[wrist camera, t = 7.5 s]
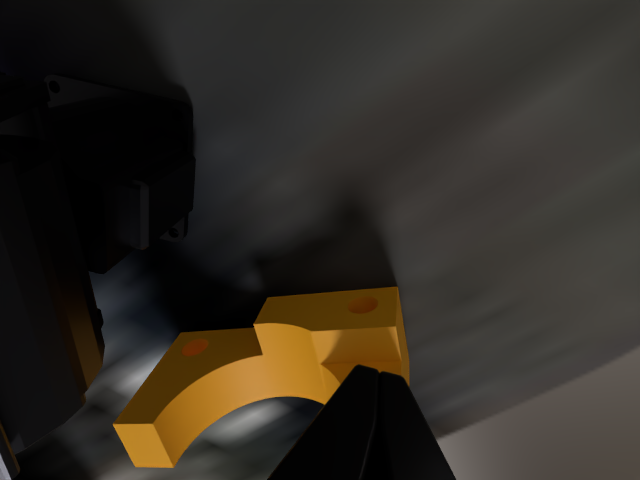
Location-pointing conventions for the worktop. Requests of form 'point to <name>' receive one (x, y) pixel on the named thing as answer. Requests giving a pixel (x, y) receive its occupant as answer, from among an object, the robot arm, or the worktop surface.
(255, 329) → the pipe clamp
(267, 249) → the worktop surface
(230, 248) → the worktop surface
